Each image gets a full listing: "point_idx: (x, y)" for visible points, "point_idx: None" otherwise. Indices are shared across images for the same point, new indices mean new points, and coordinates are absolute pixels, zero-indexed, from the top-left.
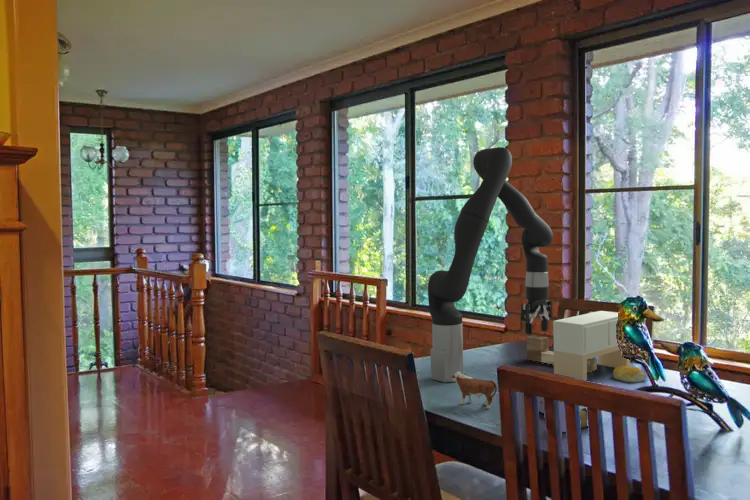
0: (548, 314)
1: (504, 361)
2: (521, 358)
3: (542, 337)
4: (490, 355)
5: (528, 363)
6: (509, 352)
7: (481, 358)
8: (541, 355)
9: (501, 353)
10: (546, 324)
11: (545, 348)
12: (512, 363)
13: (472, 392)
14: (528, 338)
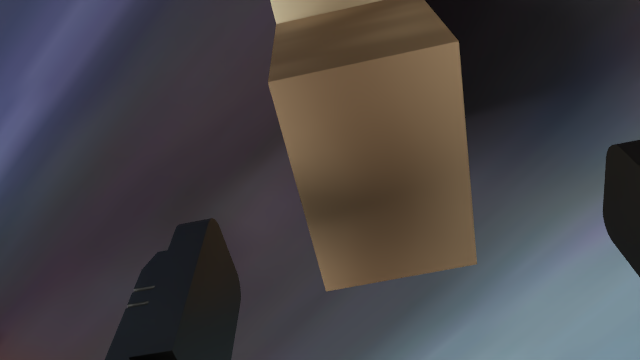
0: None
1: (593, 183)
2: None
3: (334, 138)
4: (513, 349)
5: (506, 25)
6: (344, 355)
7: (629, 318)
8: None
9: (411, 357)
10: (190, 296)
11: (337, 21)
12: (607, 100)
13: None
14: (471, 229)
